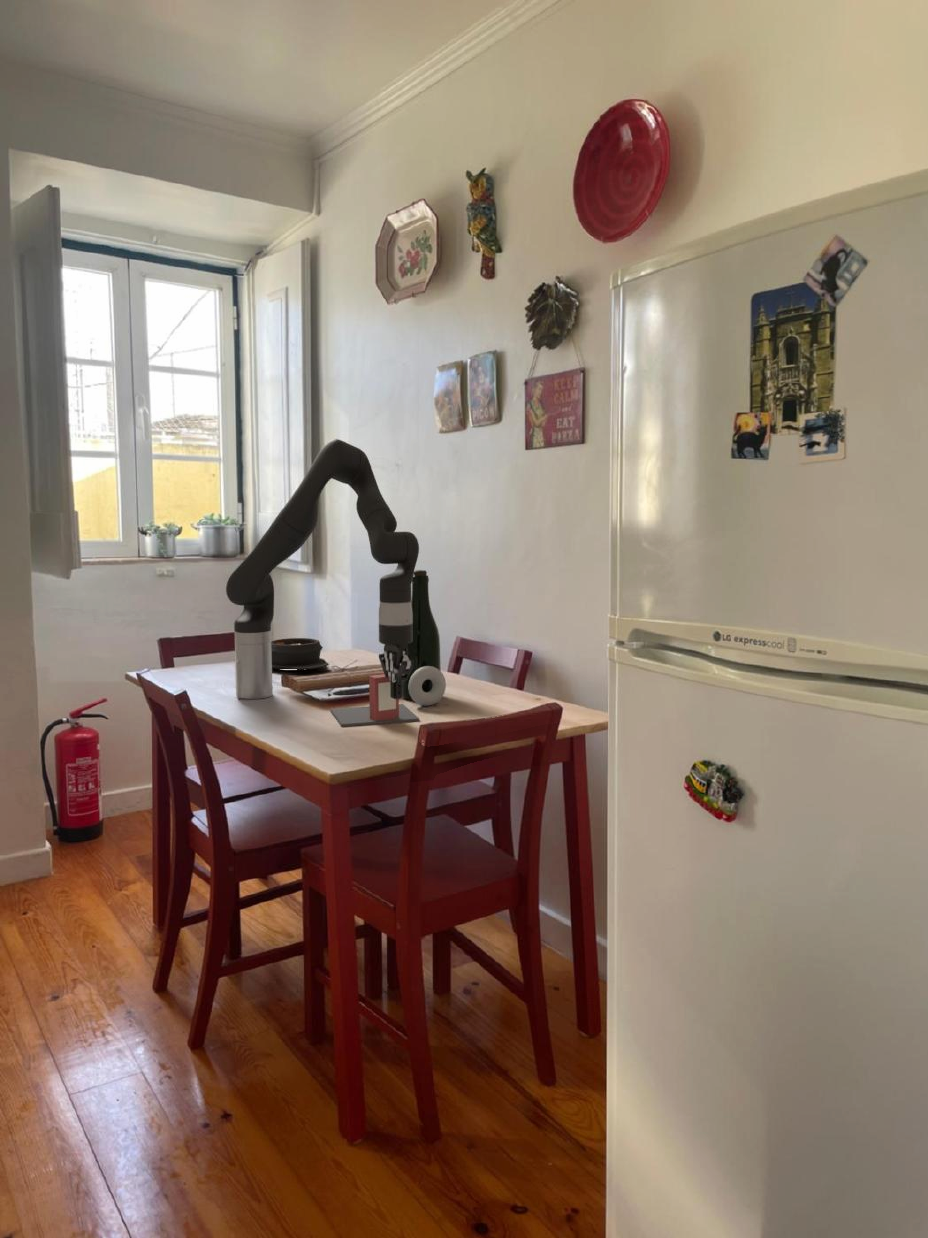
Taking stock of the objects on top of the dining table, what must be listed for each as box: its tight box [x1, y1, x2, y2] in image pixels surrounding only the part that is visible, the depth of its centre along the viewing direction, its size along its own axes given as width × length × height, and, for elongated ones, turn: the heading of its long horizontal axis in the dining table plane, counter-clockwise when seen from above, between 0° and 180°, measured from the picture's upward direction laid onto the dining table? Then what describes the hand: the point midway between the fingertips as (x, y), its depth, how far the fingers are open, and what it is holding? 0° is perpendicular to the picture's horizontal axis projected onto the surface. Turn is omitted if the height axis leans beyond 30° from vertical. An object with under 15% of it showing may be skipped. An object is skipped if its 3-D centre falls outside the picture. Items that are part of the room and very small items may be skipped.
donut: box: [408, 666, 447, 707], centre depth 222 cm, size 10×4×10 cm, turn 118°
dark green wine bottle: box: [402, 569, 442, 701], centre depth 230 cm, size 10×10×33 cm
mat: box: [330, 703, 420, 728], centre depth 211 cm, size 18×16×1 cm
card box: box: [368, 673, 400, 721], centre depth 206 cm, size 6×3×10 cm, turn 123°
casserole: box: [271, 637, 330, 671], centre depth 274 cm, size 25×19×8 cm
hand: (396, 698), depth 202 cm, fingers closed
